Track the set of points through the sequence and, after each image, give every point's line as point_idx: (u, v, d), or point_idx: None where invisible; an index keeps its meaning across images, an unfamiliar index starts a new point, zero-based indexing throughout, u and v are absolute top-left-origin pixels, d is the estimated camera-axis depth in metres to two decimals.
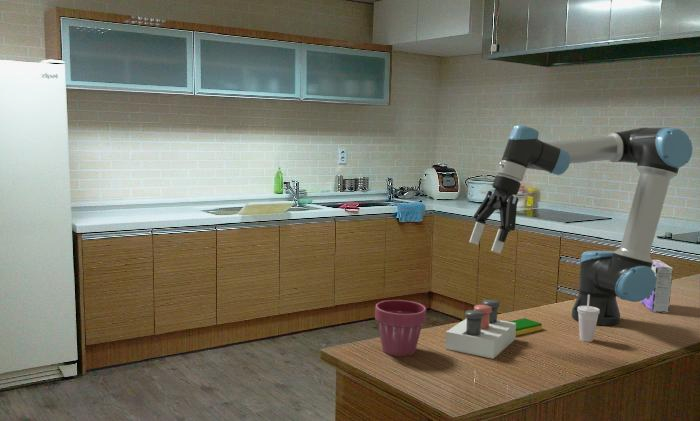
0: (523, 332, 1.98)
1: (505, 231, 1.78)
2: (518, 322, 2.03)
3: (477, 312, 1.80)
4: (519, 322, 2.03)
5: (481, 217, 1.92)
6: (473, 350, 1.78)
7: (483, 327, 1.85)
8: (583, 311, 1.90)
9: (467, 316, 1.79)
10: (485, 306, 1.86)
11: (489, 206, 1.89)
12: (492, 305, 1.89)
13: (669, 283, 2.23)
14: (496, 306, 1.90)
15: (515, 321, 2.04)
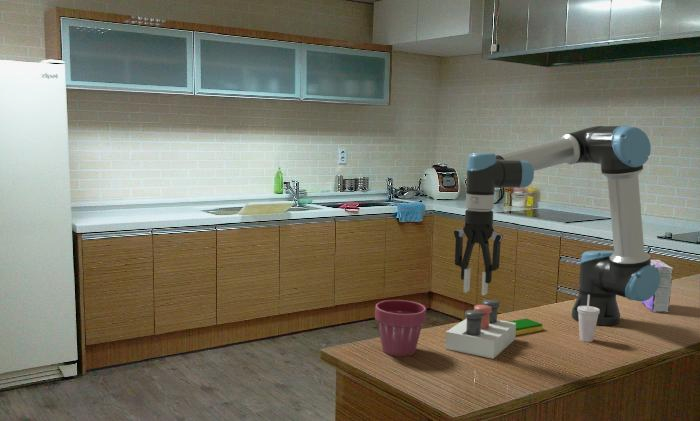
0: (522, 332, 1.98)
1: (490, 272, 1.76)
2: (518, 322, 2.03)
3: (477, 312, 1.80)
4: (519, 322, 2.03)
5: (466, 261, 1.79)
6: (473, 350, 1.78)
7: (483, 327, 1.85)
8: (583, 311, 1.90)
9: (467, 316, 1.79)
10: (485, 306, 1.86)
11: (471, 244, 1.77)
12: (492, 305, 1.89)
13: (669, 283, 2.23)
14: (496, 306, 1.90)
15: (515, 321, 2.04)
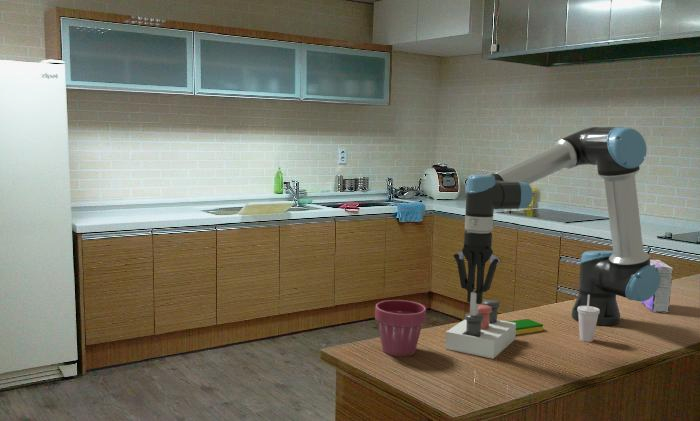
0: (521, 332, 1.98)
1: (481, 293, 1.78)
2: (519, 322, 2.03)
3: (477, 314, 1.81)
4: (520, 322, 2.03)
5: (472, 283, 1.79)
6: (473, 350, 1.78)
7: (483, 327, 1.85)
8: (583, 311, 1.90)
9: (467, 319, 1.79)
10: (485, 306, 1.86)
11: (472, 266, 1.78)
12: (492, 305, 1.89)
13: (669, 283, 2.23)
14: (496, 306, 1.90)
15: (516, 321, 2.04)
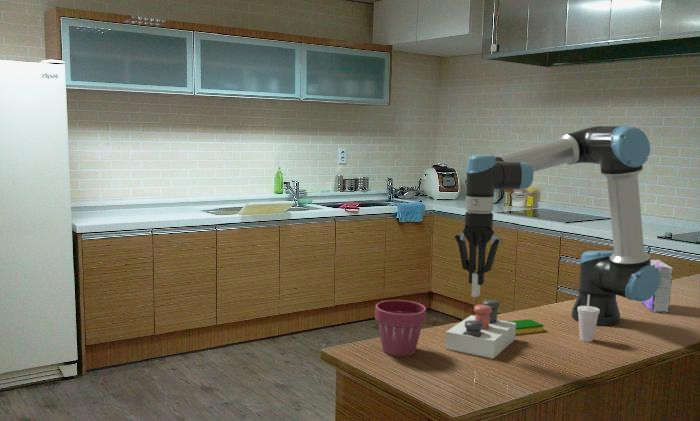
0: (520, 332, 1.98)
1: (483, 274, 1.77)
2: (519, 322, 2.03)
3: (477, 322, 1.81)
4: (520, 322, 2.03)
5: (473, 264, 1.78)
6: (473, 350, 1.78)
7: (483, 327, 1.85)
8: (583, 311, 1.90)
9: (467, 326, 1.79)
10: (485, 306, 1.86)
11: (473, 247, 1.77)
12: (492, 305, 1.89)
13: (669, 283, 2.23)
14: (496, 306, 1.90)
15: (517, 321, 2.04)
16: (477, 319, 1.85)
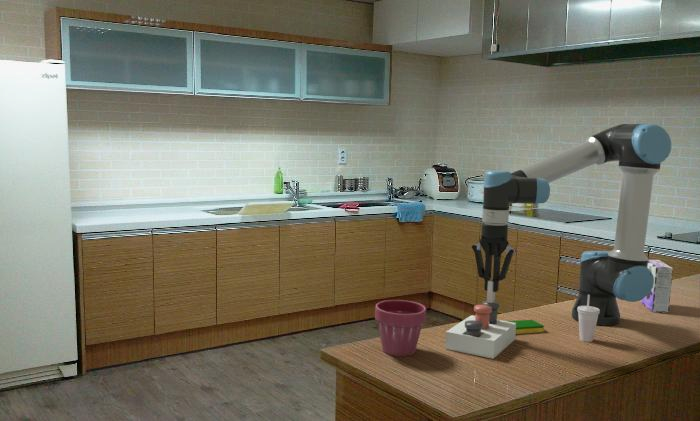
0: (519, 332, 1.98)
1: (497, 282, 1.90)
2: (519, 322, 2.03)
3: (477, 322, 1.81)
4: (520, 322, 2.02)
5: (489, 272, 1.90)
6: (473, 350, 1.78)
7: (483, 327, 1.85)
8: (583, 311, 1.90)
9: (467, 326, 1.79)
10: (485, 306, 1.86)
11: (489, 256, 1.89)
12: (492, 306, 1.89)
13: (669, 283, 2.23)
14: (496, 307, 1.90)
15: (517, 321, 2.04)
16: (477, 319, 1.85)
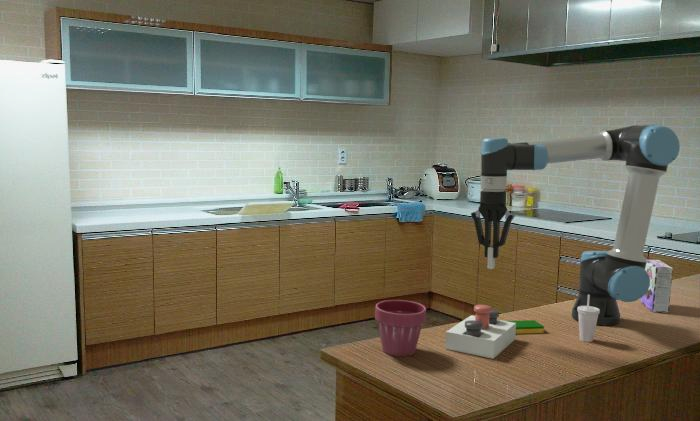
0: (517, 332, 1.98)
1: (497, 248, 1.92)
2: (520, 322, 2.02)
3: (477, 322, 1.81)
4: (521, 322, 2.02)
5: (488, 239, 1.93)
6: (473, 350, 1.78)
7: (483, 327, 1.85)
8: (583, 311, 1.90)
9: (467, 326, 1.79)
10: (485, 306, 1.86)
11: (488, 223, 1.92)
12: (491, 315, 1.90)
13: (669, 283, 2.23)
14: (495, 316, 1.90)
15: (518, 321, 2.04)
16: (477, 319, 1.85)
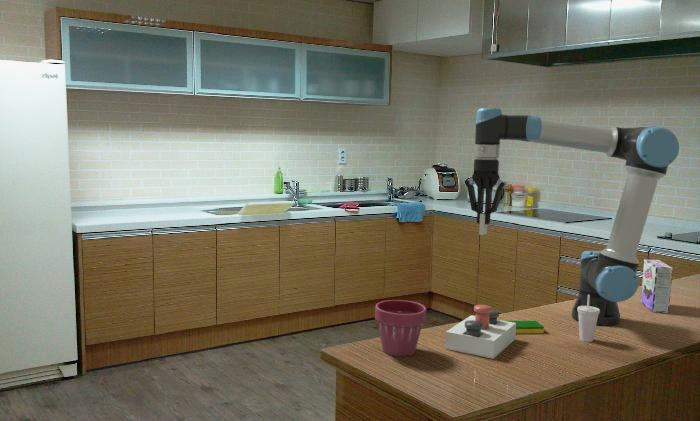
0: (516, 332, 1.98)
1: (489, 214, 2.00)
2: (520, 322, 2.02)
3: (477, 322, 1.81)
4: (521, 322, 2.02)
5: (481, 206, 2.00)
6: (473, 350, 1.78)
7: (483, 327, 1.85)
8: (583, 311, 1.90)
9: (467, 326, 1.79)
10: (485, 306, 1.86)
11: (481, 190, 1.99)
12: (491, 315, 1.90)
13: (669, 283, 2.23)
14: (495, 316, 1.90)
15: (519, 321, 2.04)
16: (477, 319, 1.85)
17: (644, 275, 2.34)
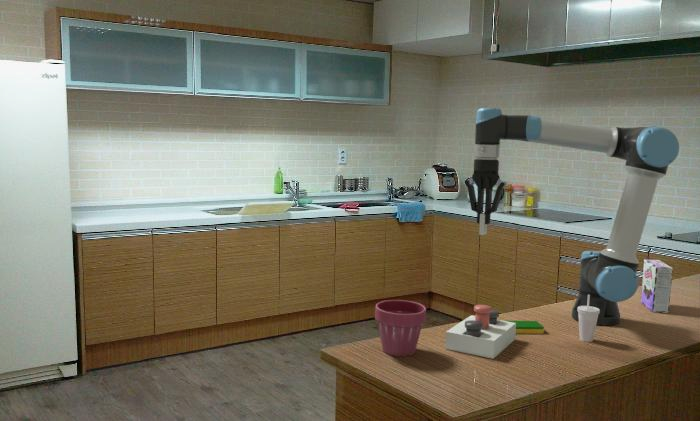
0: (516, 332, 1.98)
1: (489, 214, 2.00)
2: (520, 322, 2.02)
3: (477, 322, 1.81)
4: (521, 323, 2.02)
5: (481, 206, 2.00)
6: (473, 350, 1.78)
7: (483, 327, 1.85)
8: (583, 311, 1.90)
9: (467, 326, 1.79)
10: (485, 306, 1.86)
11: (481, 190, 1.99)
12: (491, 315, 1.90)
13: (669, 283, 2.23)
14: (495, 316, 1.90)
15: (519, 321, 2.04)
16: (477, 319, 1.85)
17: (644, 275, 2.34)
